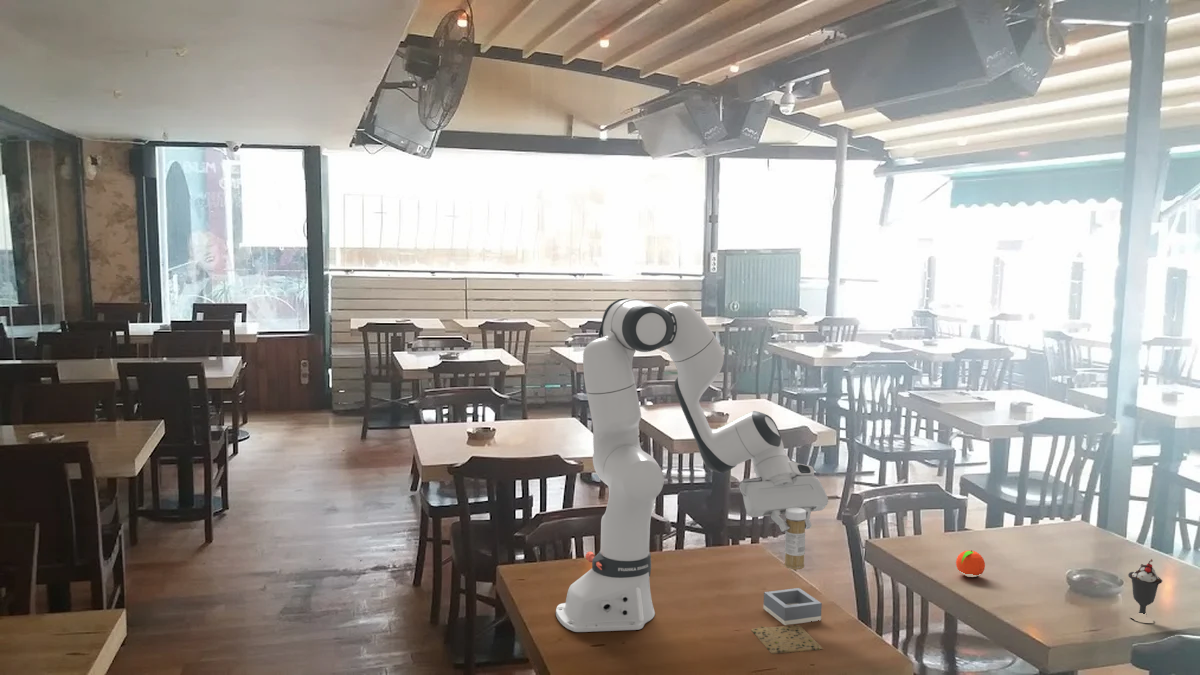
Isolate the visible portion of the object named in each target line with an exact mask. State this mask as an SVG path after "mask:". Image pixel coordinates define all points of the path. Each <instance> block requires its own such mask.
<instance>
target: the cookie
mask: <svg viewBox="0 0 1200 675" xmlns="http://www.w3.org/2000/svg"><path fill="white" fill-rule="evenodd" d="M750 631H751V632H752V633H753V635H755V637H756V638H757V639H758V640H759V642H761V644H763V645H764V647H765V648H766V650H768V651H769V653H771V654H772V655H773V654H785V653H786V654H787V653H788V654H789V653H790V652H791V653H799V651H800V652H812V651H811V650H814V651H821V650H820V649H824V648H823V647H822V645H820V643H818V641H816V640H815V639H814V638H813V637H812V636H811V635H810V634H809V633H808V632H807V631H806V630H805V629H804V628H803V627H802V625H797V624H792V625H784V626H760V627H756V628H755V627H753V628H751V629H750ZM809 650H810V651H809Z"/></svg>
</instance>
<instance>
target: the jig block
mask: <svg viewBox="0 0 1200 675" xmlns="http://www.w3.org/2000/svg"><path fill="white" fill-rule="evenodd" d="M822 607H823V603H822V602H821V601H819V600H818V599H817V598H815V597H814V596H812V595H810V594H809V593H807V592H806V591H804V590H803V589H801V588H800V587H795V588H788V589H787V588H786V589H779V590H771V591H770V590H769V591H763V608H762V609H763V610H764V611H766V612H767V613H768V614H770V615H771V616H772V617H774V618H775V619H776V620H777V621H779V622H780V623H781V624H782V625H784V626H791V625H797V624H803V623H804V624H805V623H811V621H812V622H817V621H818V620H819V621H821V620H822ZM819 621H818V622H819Z"/></svg>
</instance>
